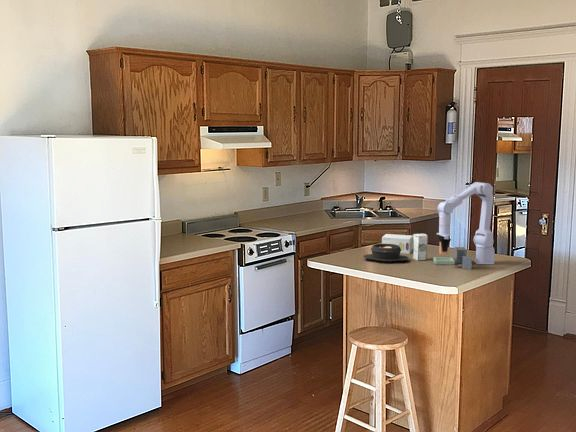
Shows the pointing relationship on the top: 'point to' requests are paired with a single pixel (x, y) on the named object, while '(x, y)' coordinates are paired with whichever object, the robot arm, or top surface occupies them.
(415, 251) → the syrup box
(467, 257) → the slate block
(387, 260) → the black round brimmed piece
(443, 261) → the sage tray
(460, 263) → the grey housing
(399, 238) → the supplement box
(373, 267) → the top surface
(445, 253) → the terracotta block
